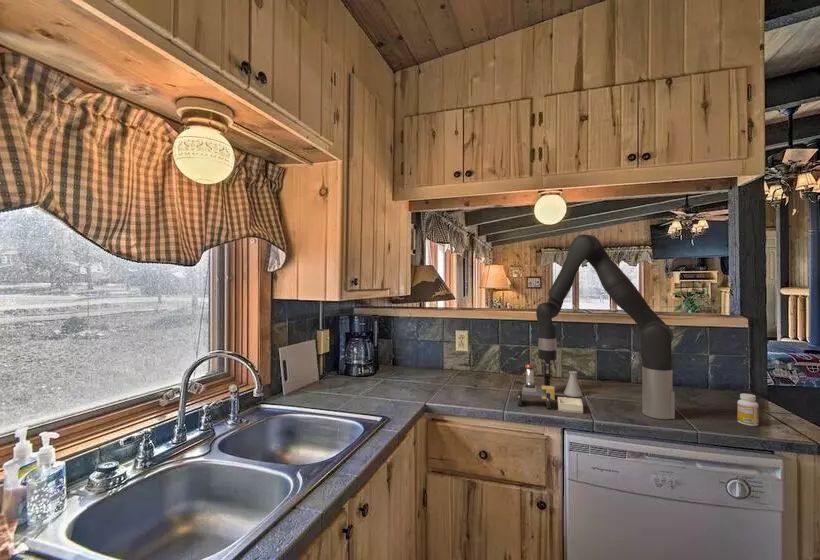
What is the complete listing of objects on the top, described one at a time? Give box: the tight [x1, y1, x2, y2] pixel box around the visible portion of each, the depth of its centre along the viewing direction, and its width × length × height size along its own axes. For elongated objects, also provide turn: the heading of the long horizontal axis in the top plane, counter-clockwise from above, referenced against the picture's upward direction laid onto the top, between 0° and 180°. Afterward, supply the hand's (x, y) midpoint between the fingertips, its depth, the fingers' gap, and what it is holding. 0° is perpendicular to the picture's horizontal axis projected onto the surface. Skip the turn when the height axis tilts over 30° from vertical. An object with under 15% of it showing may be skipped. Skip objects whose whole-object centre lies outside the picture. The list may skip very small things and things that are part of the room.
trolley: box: [517, 383, 552, 410], centre depth 149 cm, size 12×8×7 cm, turn 71°
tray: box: [557, 396, 584, 414], centre depth 144 cm, size 8×8×3 cm
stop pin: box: [524, 363, 536, 388], centre depth 149 cm, size 4×4×10 cm
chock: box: [541, 385, 556, 401], centre depth 158 cm, size 5×4×4 cm
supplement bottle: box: [736, 393, 760, 427], centre depth 130 cm, size 5×5×10 cm
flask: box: [563, 370, 584, 398], centre depth 162 cm, size 7×7×10 cm
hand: (547, 387), depth 165 cm, fingers closed
